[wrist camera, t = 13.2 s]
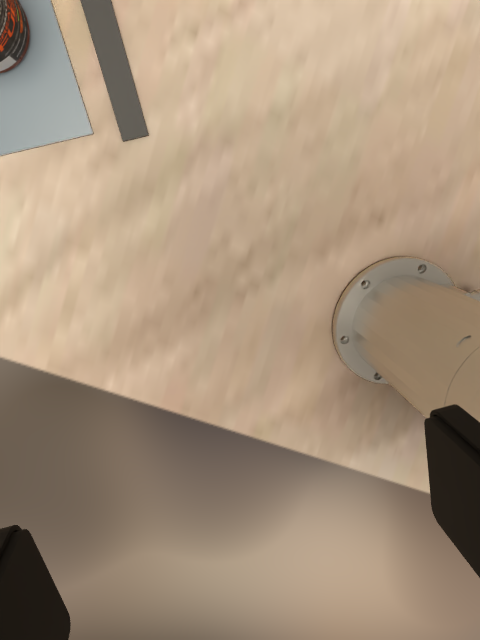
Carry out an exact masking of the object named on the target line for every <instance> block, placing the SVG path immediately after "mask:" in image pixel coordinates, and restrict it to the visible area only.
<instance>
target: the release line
mask: <svg viewBox="0 0 480 640" xmlns="http://www.w3.org/2000/svg"><path fill="white" fill-rule="evenodd" d="M81 3H82V6H83V10H84V13H85V16H86V20H87V23H88V26H89V30H90V33H91V36H92V40H93V43H94V46H95V50H96V53H97V56H98V60H99V63H100V66H101V70H102V73H103V77H104V80H105V83H106V87H107V90H108V93H109V97H110V100H111V103H112V107H113V110H114V113H115V117H116V120H117V123H118V127H119V130H120V133H121V137H122V140H123V142H124V141H128V140H132V139H136V138H140V137H145V136H149V135H148V132H147V128H146V125H145V121H144V117H143V114H142V110H141V107H140V103H139V100H138V96H137V92H136V89H135V85H134V82H133V78H132V75H131V71H130V67H129V64H128V60H127V57H126V53H125V49H124V46H123V42H122V39H121V35H120V32H119V28H118V24H117V21H116V17H115V14H114V10H113V7H112V3H111V0H81Z"/></svg>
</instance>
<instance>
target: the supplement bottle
mask: <svg viewBox="0 0 480 640" xmlns="http://www.w3.org/2000/svg"><path fill="white" fill-rule="evenodd" d="M29 34H30V30H29V24H28V20H27V17H26V14H25V12H24V10H23V8H22V6H21V4H20V2H19V1H18V0H0V73H4V72H7V71H9V70H11V69H13V68H14V67H15V66H17V65H18V64H19V63H20V62H21V61H22V59H23V57H24V56H25V54H26V51H27V49H28V45H29V38H30V35H29Z"/></svg>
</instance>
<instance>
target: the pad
mask: <svg viewBox="0 0 480 640" xmlns="http://www.w3.org/2000/svg"><path fill="white" fill-rule="evenodd" d="M18 1H19V2H20V4H21V6H22V8H23V10H24V12H25V14H26V17H27V20H28V24H29V30H30V34H29V35H30V38H29V45H28V49H27V51H26V54H25V56H24V57H23V59H22V61H21V62H20V63H19V64H18V65H17V66H15V67H14V68H13V69H11V70H9V71H7V72H4V73H0V156H2V155H6V154H11V153H15V152H19V151H23V150H27V149H32V148H36V147H40V146H44V145H49V144H53V143H57V142H61V141H66V140H70V139H74V138H78V137H83V136H87V135H91V134H93V131H92V128H91V125H90V122H89V118H88V115H87V112H86V109H85V106H84V103H83V100H82V96H81V93H80V90H79V87H78V84H77V81H76V78H75V75H74V71H73V68H72V65H71V62H70V59H69V56H68V53H67V50H66V46H65V43H64V40H63V37H62V34H61V31H60V28H59V24H58V21H57V18H56V15H55V12H54V9H53V6H52V3H51V0H18Z"/></svg>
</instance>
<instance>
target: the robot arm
mask: <svg viewBox="0 0 480 640" xmlns="http://www.w3.org/2000/svg"><path fill="white" fill-rule="evenodd" d="M418 267H419V268H418ZM363 281H364V283H363V284H362V285H361V283H362V282H363ZM332 331H333V340H334V344H335V347H336V350H337V353H338V354H339V356H340V358H341V359H342V361H343V362H344V363H345V364H346V365H347V367H348V368H349V369H350V370H352V371H353V372H354V373H355V374H356V375H357V376H359V377H361V378H363V379H365V380H367V381H370V382H374V383H379V384H390V385H391V386H392V387H393V388H395V389H396V390H397V391H398V392H399V393H400V394H401V395H402V396H403V397H404V398H405V399H406V400H407V401H408V402H410V403H411V404H412V405H413V406H414V407H415V408H416V409H417V410H418V411H419V412H420V413H421V414H422V415H424V416H425V417H426V418H427V419H425V436H426V448H427V459H428V471H429V483H430V494H431V505H432V511H433V514H434V516H435V518H436V520H437V522H438V524H439V525H440V526H441V528H442V529H443V530H444V532H445V533H446V534H447V536H448V537H449V538H450V539H451V541H452V542H453V543H454V545H455V546H456V547H457V549H458V550H459V551H460V553H461V554H462V555H463V557H464V558H465V559H466V560H467V562H468V563H469V564H470V566H471V567H472V568H473V570H474V571H475V572H476V573H477V575H478V576H479V577H480V289H479V290H475V291H474V292H471V293H469V292H466V291H464V290H461V289H459V288H456V287H455V286H454V283H453V282H452V280H451V279H450V278H449V276H448V275H447V274H446V273H445V272H444V271H443V270H442V269H441V268H439V267H438V266H436V265H434V264H432V263H430V262H428V261H426V260H422V259H419V258H414V257H407V256H404V257H393V258H389V259H386V260H382V261H380V262H378V263H375V264H373V265H371V266H369V267H368V268H367V269H365V270H364V271H362V272H361V273H360V274H359V275H358V276H357V277H356V278H355V279H354V280H353V281H352V282H351V283H350V284H349V285H348V287H347V288H346V289H345V291H344V292H343V294H342V296H341V298H340V300H339V302H338V304H337V306H336V310H335V314H334V318H333V329H332ZM342 336H343V338H342V339H341V337H342ZM69 633H70V616H69V613H68V611H67V609H66V606H65V604H64V602H63V600H62V598H61V596H60V594H59V592H58V590H57V588H56V586H55V584H54V581H53V579H52V577H51V575H50V573H49V571H48V569H47V567H46V565H45V563H44V561H43V558H42V557H41V555H40V552H39V550H38V548H37V546H36V544H35V542H34V540H33V538H32V536H31V534H30V532H29V531H28V530H27V529H24V530H22V529H21V528H20V527H19V526H18V525H13V526H9V527H6V528H2V529H0V640H68V638H69Z"/></svg>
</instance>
